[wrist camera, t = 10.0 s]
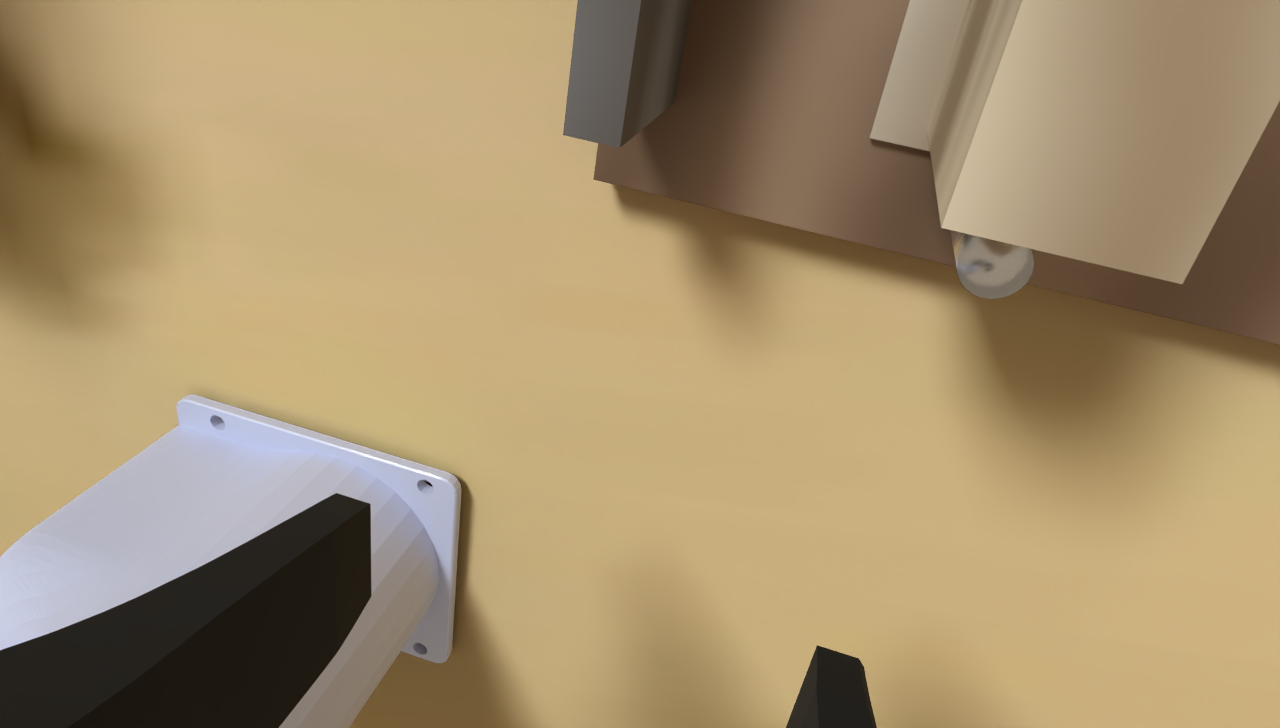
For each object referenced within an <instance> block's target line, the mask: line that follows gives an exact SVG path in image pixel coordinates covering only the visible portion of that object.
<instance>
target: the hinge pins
mask: <svg viewBox="0 0 1280 728" xmlns="http://www.w3.org/2000/svg"><path fill="white" fill-rule="evenodd" d="M950 232H951V238H952V244H953V249H954V255H955V261H956V267H957V273H958V277H959V280H960V282H961V283H962V285H963V286H964V287H965V288H966V289H967V290H968V291H969V292H970V293H972V294H974V295H976V296H978V297H981V298H986V299H998V298H1003V297H1007V296H1009V295H1012V294H1014V293H1016V292H1017V291H1018V290H1020V289H1021V288H1022V287H1023V286H1024V285H1025V284H1026V283H1027V282H1028V280H1029V279H1030V277H1031V275H1032V272H1033V267H1034V258H1033V254H1032V251H1031V249H1030V248H1025V247H1021V246H1017V245H1012V244H1008V243H1004V242H1000V241H995V240H991V239H987V238H983V237H978V236H974V235H970V234H966V233H961V232H957V231H953V230H950Z"/></svg>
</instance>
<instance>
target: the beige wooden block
mask: <svg viewBox="0 0 1280 728" xmlns="http://www.w3.org/2000/svg"><path fill="white" fill-rule="evenodd" d="M1279 101H1280V0H969V2H968V6H967V9H966V12H965V15H964V18H963V21H962V24H961V27H960V30H959V33H958V36H957V39H956V42H955V45H954V48H953V51H952V54H951V57H950V61H949V64H948V67H947V70H946V73H945V76H944V79H943V82H942V85H941V88H940V91H939V94H938V97H937V100H936V103H935V106H934V109H933V112H932V116H931V119H930V122H929V125H928V128H927V133H928V140H929V147H930V154H931V161H932V168H933V175H934V182H935V188H936V195H937V202H938V209H939V216H940V223H941V228H944V229H948V230H953V231H957V232H961V233H966V234H970V235H974V236H978V237H983V238H987V239H991V240H995V241H1000V242H1004V243H1008V244H1012V245H1017V246H1021V247H1025V248H1030V249H1034V250H1038V251H1042V252H1047V253H1051V254H1055V255H1059V256H1064V257H1068V258H1072V259H1076V260H1081V261H1085V262H1089V263H1094V264H1098V265H1102V266H1106V267H1111V268H1115V269H1119V270H1123V271H1128V272H1132V273H1136V274H1140V275H1145V276H1149V277H1153V278H1157V279H1162V280H1166V281H1170V282H1175V283H1179V284H1183V282H1184V280H1185V278H1186V277H1187V275H1188V273H1189V271H1190V269H1191V267H1192V265H1193V263H1194V261H1195V260H1196V258H1197V256H1198V254H1199V252H1200V250H1201V248H1202V246H1203V245H1204V243H1205V241H1206V239H1207V237H1208V235H1209V233H1210V231H1211V229H1212V228H1213V226H1214V224H1215V222H1216V220H1217V218H1218V216H1219V214H1220V212H1221V211H1222V209H1223V207H1224V205H1225V203H1226V201H1227V199H1228V197H1229V196H1230V194H1231V192H1232V190H1233V188H1234V186H1235V184H1236V182H1237V180H1238V179H1239V177H1240V175H1241V173H1242V171H1243V169H1244V167H1245V165H1246V163H1247V162H1248V160H1249V158H1250V156H1251V154H1252V152H1253V150H1254V148H1255V146H1256V145H1257V143H1258V141H1259V139H1260V137H1261V135H1262V133H1263V131H1264V130H1265V128H1266V126H1267V124H1268V122H1269V120H1270V118H1271V116H1272V114H1273V113H1274V111H1275V109H1276V107H1277V105H1278V103H1279Z"/></svg>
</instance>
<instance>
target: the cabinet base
mask: <svg viewBox="0 0 1280 728" xmlns="http://www.w3.org/2000/svg"><path fill="white" fill-rule="evenodd" d="M968 2H969V0H578V4H577V13H576V22H575V31H574V41H573V50H572V59H571V68H570V77H569V87H568V96H567V105H566V114H565V123H564V133H563V135H566V136H570V137H574V138H579V139H583V140H587V141H592V142H596V143H598V150H597V157H596V165H595V173H594V180H598V181H602V182H606V183H610V184H614V185H619V186H623V187H627V188H631V189H635V190H639V191H644V192H648V193H652V194H656V195H660V196H664V197H668V198H673V199H677V200H681V201H685V202H689V203H693V204H697V205H702V206H706V207H710V208H714V209H718V210H722V211H726V212H731V213H735V214H739V215H743V216H747V217H751V218H756V219H760V220H764V221H768V222H772V223H776V224H780V225H785V226H789V227H793V228H797V229H801V230H805V231H809V232H814V233H818V234H822V235H826V236H830V237H834V238H839V239H843V240H847V241H851V242H855V243H859V244H863V245H868V246H872V247H876V248H880V249H884V250H888V251H892V252H897V253H901V254H905V255H909V256H913V257H917V258H921V259H926V260H930V261H934V262H938V263H942V264H946V265H951V266H955V267H956V261H955V255H954V249H953V244H952V238H951V232H950V230H948V229H944V228H941V223H940V216H939V209H938V202H937V195H936V188H935V182H934V175H933V168H932V161H931V154H930V147H929V140H928V133H927V128H928V125H929V122H930V119H931V116H932V112H933V109H934V106H935V103H936V100H937V97H938V94H939V91H940V88H941V85H942V82H943V79H944V76H945V73H946V70H947V67H948V64H949V61H950V57H951V54H952V51H953V48H954V45H955V42H956V39H957V36H958V33H959V30H960V27H961V24H962V21H963V18H964V15H965V12H966V9H967V6H968ZM1031 251H1032V254H1033V258H1034V267H1033V272H1032V275H1031V277H1030V279H1029V280H1028V282H1027V283H1026V284H1029V285H1034V286H1038V287H1042V288H1046V289H1050V290H1054V291H1058V292H1063V293H1067V294H1071V295H1075V296H1079V297H1083V298H1087V299H1092V300H1096V301H1100V302H1104V303H1108V304H1112V305H1116V306H1121V307H1125V308H1129V309H1133V310H1137V311H1141V312H1146V313H1150V314H1154V315H1158V316H1162V317H1166V318H1170V319H1175V320H1179V321H1183V322H1187V323H1191V324H1195V325H1199V326H1204V327H1208V328H1212V329H1216V330H1220V331H1224V332H1229V333H1233V334H1237V335H1241V336H1245V337H1249V338H1253V339H1258V340H1262V341H1266V342H1270V343H1274V344H1278V345H1280V101H1279V103H1278V105H1277V107H1276V109H1275V111H1274V113H1273V114H1272V116H1271V118H1270V120H1269V122H1268V124H1267V126H1266V128H1265V130H1264V131H1263V133H1262V135H1261V137H1260V139H1259V141H1258V143H1257V145H1256V146H1255V148H1254V150H1253V152H1252V154H1251V156H1250V158H1249V160H1248V162H1247V163H1246V165H1245V167H1244V169H1243V171H1242V173H1241V175H1240V177H1239V179H1238V180H1237V182H1236V184H1235V186H1234V188H1233V190H1232V192H1231V194H1230V196H1229V197H1228V199H1227V201H1226V203H1225V205H1224V207H1223V209H1222V211H1221V212H1220V214H1219V216H1218V218H1217V220H1216V222H1215V224H1214V226H1213V228H1212V229H1211V231H1210V233H1209V235H1208V237H1207V239H1206V241H1205V243H1204V245H1203V246H1202V248H1201V250H1200V252H1199V254H1198V256H1197V258H1196V260H1195V261H1194V263H1193V265H1192V267H1191V269H1190V271H1189V273H1188V275H1187V277H1186V278H1185V280H1184V282H1183V284H1179V283H1175V282H1170V281H1166V280H1162V279H1157V278H1153V277H1149V276H1145V275H1140V274H1136V273H1132V272H1128V271H1123V270H1119V269H1115V268H1111V267H1106V266H1102V265H1098V264H1094V263H1089V262H1085V261H1081V260H1076V259H1072V258H1068V257H1064V256H1059V255H1055V254H1051V253H1047V252H1042V251H1038V250H1034V249H1031Z"/></svg>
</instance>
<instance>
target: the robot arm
mask: <svg viewBox="0 0 1280 728" xmlns="http://www.w3.org/2000/svg"><path fill="white" fill-rule="evenodd" d="M177 415H178V422H179V425H178V426H177V427H175V428H174V429H172V430H171V431H170V432H168V433H167V434H165V435H164V436H163V437H161V438H160V439H158V440H157V441H155V442H154V443H153V444H151V445H150V446H148V447H147V448H146V449H144V450H143V451H141V452H140V453H138V454H137V455H136V456H134V457H133V458H131V459H130V460H129V461H127V462H126V463H124V464H123V465H121V466H120V467H119V468H117V469H116V470H114V471H113V472H112V473H110V474H109V475H107V476H106V477H104V478H103V479H102V480H100V481H99V482H97V483H96V484H95V485H93V486H92V487H90V488H89V489H87V490H86V491H85V492H83V493H82V494H80V495H79V496H78V497H76V498H75V499H73V500H72V501H70V502H69V503H68V504H66V505H65V506H63V507H62V508H61V509H59V510H58V511H56V512H55V513H53V514H52V515H51V516H49V517H48V518H46V519H45V520H44V521H42V522H41V523H39V524H38V525H36V526H35V527H34V528H32V529H31V530H29V531H28V532H27V533H26V534H25V535H23V536H22V537H21V538H20V539H18V540H17V541H16V542H15V543H14V544H13V545H12V546H11V547H10V548H9V549H8V550H7V551H6V552H5V553H4V554H3V555H2V556H1V557H0V728H349V727H350V726H351V724H352V723H353V721H354V720H355V718H356V717H357V715H358V714H359V712H360V711H361V709H362V708H363V706H364V705H365V704H366V702H367V701H368V699H369V698H370V696H371V695H372V693H373V692H374V690H375V689H376V687H377V686H378V684H379V683H380V681H381V680H382V678H383V677H384V675H385V674H386V672H387V671H388V670H389V668H390V667H391V665H392V664H393V662H394V661H395V659H396V658H397V656H398V655H399V653H400V652H401V651H402V652H404V653H407V654H410V655H413V656H416V657H419V658H422V659H425V660H428V661H430V662H434V663H444V662H445V661H447V659H448V657H449V656H450V654H451V652H452V641H453V624H454V608H455V591H456V575H457V558H458V541H459V525H460V508H461V492H462V489H461V484H460V482H459V481H458V479H457V478H456V477H455V476H454V475H452V474H450V473H448V472H446V471H442V470H439V469H436V468H432V467H429V466H426V465H423V464H419V463H416V462H413V461H410V460H406V459H403V458H400V457H397V456H393V455H390V454H387V453H383V452H380V451H377V450H374V449H370V448H367V447H364V446H361V445H357V444H354V443H351V442H348V441H344V440H341V439H338V438H335V437H331V436H328V435H325V434H321V433H318V432H315V431H312V430H308V429H305V428H302V427H299V426H295V425H292V424H289V423H286V422H282V421H279V420H276V419H272V418H269V417H266V416H263V415H259V414H256V413H253V412H250V411H246V410H243V409H240V408H237V407H233V406H230V405H227V404H223V403H220V402H217V401H214V400H210V399H207V398H204V397H201V396H197V395H192V394H190V395H187V396H185V397H184V398H182V399H181V400H179V402H178V403H177ZM424 480H426V481H428V482H430V483H431V485H432V486H433V487H432V486H430V485H428V484H427V483H426V482H425V481H424ZM786 728H877V727H876V723H875V719H874V714H873V710H872V706H871V701H870V697H869V692H868V687H867V682H866V677H865V671H864V666H863V665H862V663H861V661H860V660H859V659H858V658H855V657H852V656H849V655H846V654H842V653H839V652H836V651H833V650H830V649H827V648H824V647H820V646H817V647H816V650H815V652H814V655H813V658H812V660H811V663H810V666H809V668H808V671H807V674H806V676H805V679H804V681H803V684H802V687H801V689H800V692H799V695H798V697H797V700H796V703H795V705H794V708H793V711H792V713H791V716H790V718H789V721H788V724H787V726H786Z"/></svg>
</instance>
